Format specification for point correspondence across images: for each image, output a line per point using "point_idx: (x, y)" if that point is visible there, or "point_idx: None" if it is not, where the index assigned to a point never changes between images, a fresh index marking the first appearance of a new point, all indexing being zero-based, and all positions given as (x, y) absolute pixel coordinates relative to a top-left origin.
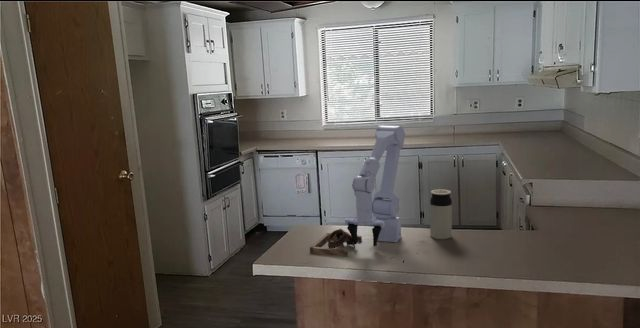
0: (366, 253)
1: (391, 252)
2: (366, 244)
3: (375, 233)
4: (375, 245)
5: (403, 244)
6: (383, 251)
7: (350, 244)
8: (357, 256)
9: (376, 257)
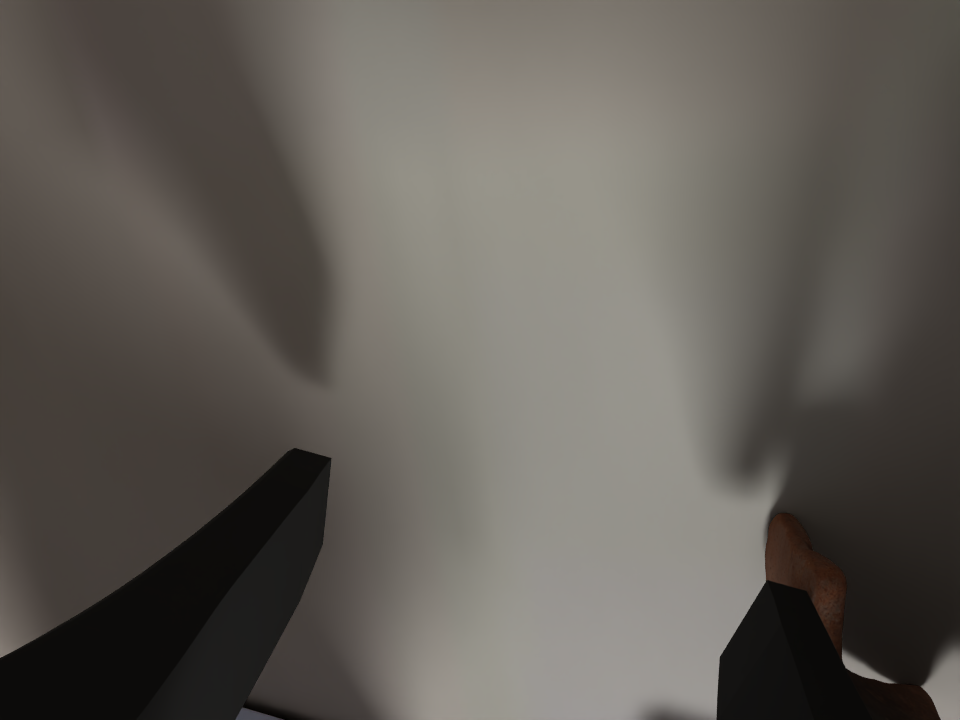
0: (505, 284)
1: (33, 329)
2: (548, 671)
3: (23, 705)
4: (278, 467)
5: (6, 609)
6: (187, 379)
7: (861, 681)
8: (730, 76)
9: (225, 29)
